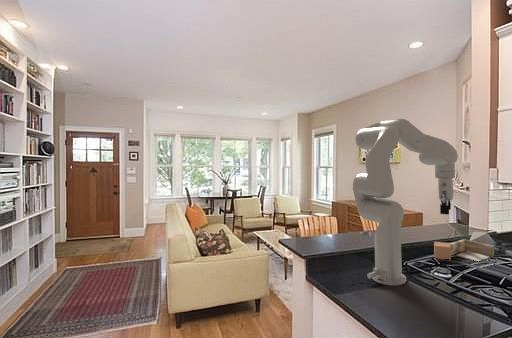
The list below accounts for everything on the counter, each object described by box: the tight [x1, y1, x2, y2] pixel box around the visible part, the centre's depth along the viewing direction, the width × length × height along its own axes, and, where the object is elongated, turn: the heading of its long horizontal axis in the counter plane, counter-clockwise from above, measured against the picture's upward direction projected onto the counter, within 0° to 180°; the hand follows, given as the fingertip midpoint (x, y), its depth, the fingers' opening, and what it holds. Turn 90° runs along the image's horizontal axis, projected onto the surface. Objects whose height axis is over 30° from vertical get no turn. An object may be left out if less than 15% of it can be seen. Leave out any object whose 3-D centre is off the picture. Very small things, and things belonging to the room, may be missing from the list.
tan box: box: [449, 238, 495, 263], centre depth 133 cm, size 13×12×5 cm
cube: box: [433, 241, 452, 261], centre depth 133 cm, size 6×6×6 cm
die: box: [469, 231, 495, 246], centre depth 140 cm, size 8×9×10 cm
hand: (445, 211), depth 132 cm, fingers open, 9 cm apart
